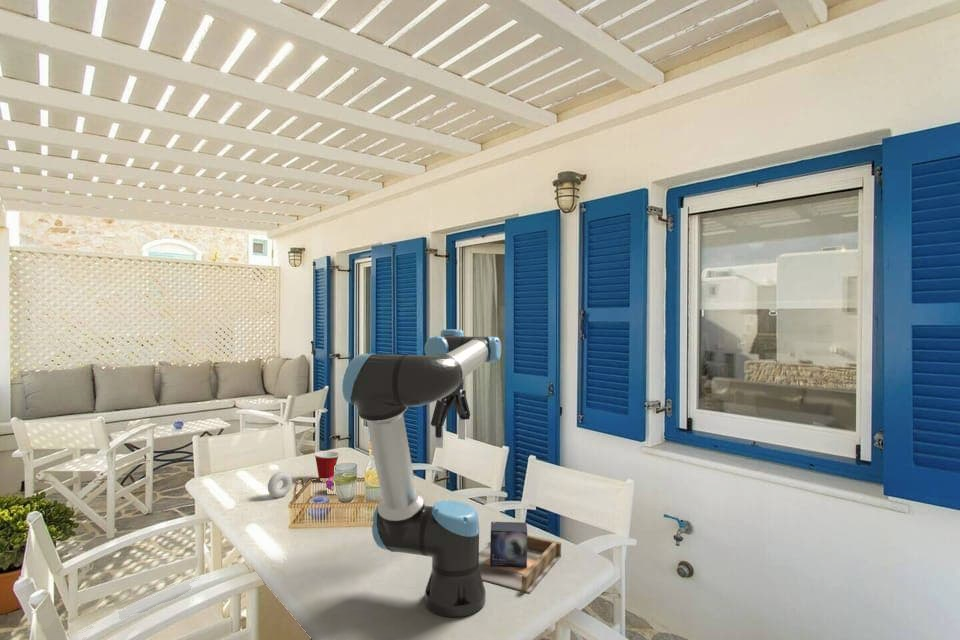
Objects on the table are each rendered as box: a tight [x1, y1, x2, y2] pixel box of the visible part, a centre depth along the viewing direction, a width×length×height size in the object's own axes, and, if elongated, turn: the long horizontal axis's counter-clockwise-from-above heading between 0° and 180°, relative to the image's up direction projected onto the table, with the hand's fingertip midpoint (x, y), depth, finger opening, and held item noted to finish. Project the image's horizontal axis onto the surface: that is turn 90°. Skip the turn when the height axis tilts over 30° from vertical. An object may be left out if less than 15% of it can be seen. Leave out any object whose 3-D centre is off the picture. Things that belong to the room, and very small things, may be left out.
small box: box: [489, 521, 528, 567], centre depth 144 cm, size 11×6×10 cm, turn 88°
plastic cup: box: [313, 450, 340, 479], centre depth 221 cm, size 11×11×12 cm
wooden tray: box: [479, 534, 562, 594], centre depth 144 cm, size 24×22×4 cm
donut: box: [267, 471, 293, 499], centre depth 199 cm, size 10×4×10 cm, turn 143°
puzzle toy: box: [325, 476, 335, 491], centre depth 205 cm, size 6×6×6 cm
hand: (451, 443), depth 161 cm, fingers open, 13 cm apart
